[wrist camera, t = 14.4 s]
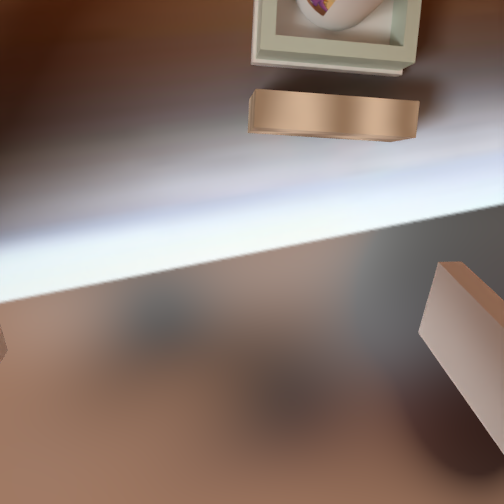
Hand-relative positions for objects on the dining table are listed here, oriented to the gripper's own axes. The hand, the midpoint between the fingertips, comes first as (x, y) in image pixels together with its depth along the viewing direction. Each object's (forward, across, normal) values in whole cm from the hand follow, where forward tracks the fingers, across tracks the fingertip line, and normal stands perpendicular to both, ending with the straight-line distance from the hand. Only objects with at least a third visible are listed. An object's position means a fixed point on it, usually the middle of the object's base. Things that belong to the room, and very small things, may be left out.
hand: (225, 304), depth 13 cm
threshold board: (+30, +11, -1) cm, 32 cm away
